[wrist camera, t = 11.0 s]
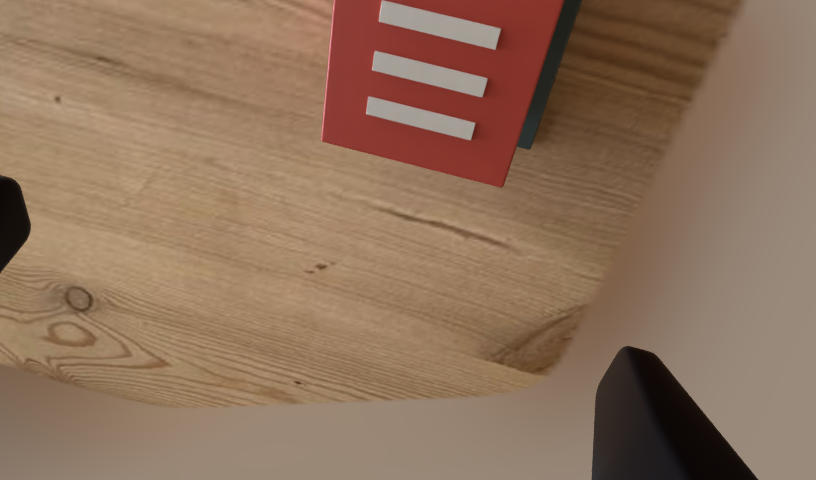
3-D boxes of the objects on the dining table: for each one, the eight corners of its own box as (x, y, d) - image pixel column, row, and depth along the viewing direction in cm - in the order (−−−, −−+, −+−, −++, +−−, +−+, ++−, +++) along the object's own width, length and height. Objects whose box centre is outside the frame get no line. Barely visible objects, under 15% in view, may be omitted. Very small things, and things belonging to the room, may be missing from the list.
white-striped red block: (510, 117, 16) (503, 190, 12) (367, 81, 16) (319, 143, 13) (561, -46, 14) (569, -14, 10) (390, -86, 14) (338, -68, 10)
